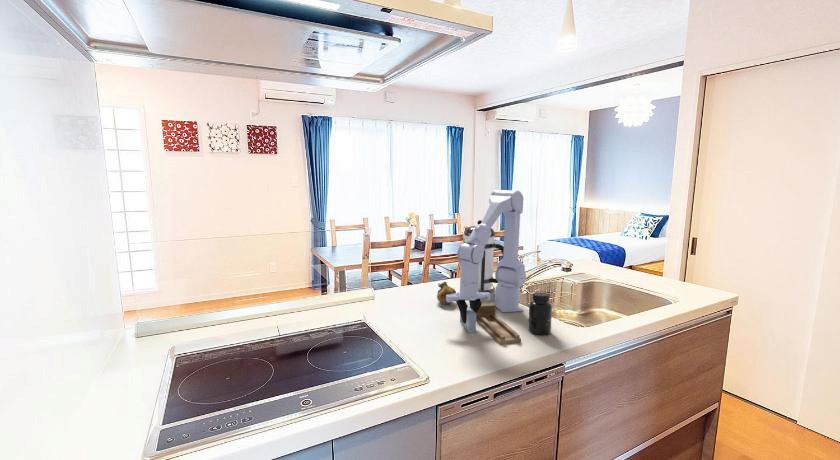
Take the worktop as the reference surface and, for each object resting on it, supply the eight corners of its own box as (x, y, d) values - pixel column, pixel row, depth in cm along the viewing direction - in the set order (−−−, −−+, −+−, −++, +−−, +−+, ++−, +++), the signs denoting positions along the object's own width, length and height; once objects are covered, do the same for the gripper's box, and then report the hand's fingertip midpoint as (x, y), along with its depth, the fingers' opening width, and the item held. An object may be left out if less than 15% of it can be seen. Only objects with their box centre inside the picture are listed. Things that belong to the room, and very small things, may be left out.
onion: (434, 305, 143) (434, 284, 142) (438, 298, 151) (438, 279, 150) (454, 307, 142) (455, 286, 140) (457, 300, 149) (457, 280, 148)
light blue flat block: (459, 321, 128) (460, 304, 127) (465, 321, 129) (466, 303, 128) (469, 332, 120) (470, 314, 119) (475, 332, 120) (476, 313, 119)
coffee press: (463, 297, 153) (466, 222, 149) (456, 285, 169) (459, 217, 165) (506, 296, 155) (510, 223, 150) (495, 285, 171) (498, 218, 166)
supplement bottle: (553, 335, 117) (554, 297, 116) (530, 334, 118) (531, 296, 117) (548, 327, 124) (549, 291, 123) (526, 326, 125) (527, 290, 124)
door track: (473, 318, 131) (474, 304, 130) (492, 317, 133) (493, 303, 132) (499, 344, 112) (500, 327, 111) (521, 342, 113) (521, 325, 113)
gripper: (451, 285, 116) (450, 328, 118) (495, 283, 120) (493, 324, 122) (444, 279, 123) (443, 319, 125) (486, 277, 127) (484, 316, 129)
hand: (467, 321), depth 124 cm, fingers closed on light blue flat block, 2 cm apart
